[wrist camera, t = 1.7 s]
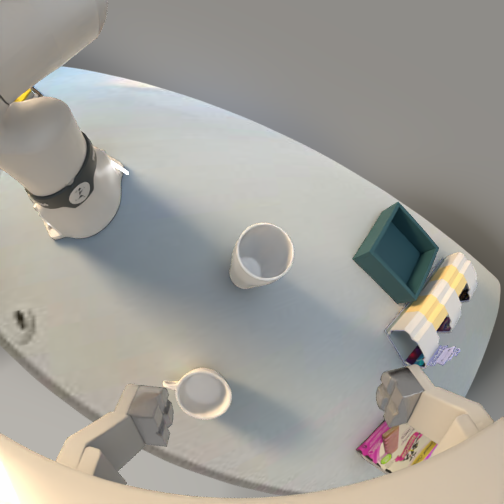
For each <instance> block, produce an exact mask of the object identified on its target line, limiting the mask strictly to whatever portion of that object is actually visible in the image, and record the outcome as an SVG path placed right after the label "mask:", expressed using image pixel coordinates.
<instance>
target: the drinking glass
mask: <svg viewBox="0 0 504 504" xmlns="http://www.w3.org/2000/svg"><path fill="white" fill-rule="evenodd" d="M293 261H294V246H293V243H292V240H291V238H290V237H289V235H288V234H287V233H286V232H285V231H284V230H283V229H281V228H280V227H278V226H276V225H274V224H270V223H257V224H254V225H252V226H250V227H248V228H247V229H245V230H244V231H243V233H242V234H241V235H240V237H239V238H238V240H237V242H236V244H235V246H234V249H233V252H232V259H231V266H230V271H229V274H230V278H231V280H232V282H233V283H234V284H235V285H236V286H237V287H239V288H242V289H251V288H254V287H258V286H264V285H268V284H270V283H273V282H275V281H276V280H278V279H279V278H281V277H282V276H283V275H285V274H286V273H287V272H288V271H289V269H290V268H291V266H292V264H293Z"/></svg>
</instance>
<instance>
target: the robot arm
mask: <svg viewBox="0 0 504 504" xmlns="http://www.w3.org/2000/svg"><path fill="white" fill-rule="evenodd" d="M106 15H107V0H0V169H1V170H3V171H5V172H6V173H8V174H9V175H10V176H12V177H13V178H14V179H15V180H17V181H18V182H19V183H20V184H22V185H23V186H24V187H25V190H26V192H27V193H28V196H29V198H30V200H31V201H32V202H33V203H35V202H36V204H35V205H34V208H35V210H36V211H37V212H39V216H40V217H41V218H42V219H43V220H44V223H45V225H46V228H47V230H48V233H49V235H50V237H51V238H52V239H54V240H57V239H61V238H64V237H72V238H86V237H90V236H92V235H94V234H96V233H98V232H100V231H101V230H102V229H104V228H105V227H106V226H107V225H108V224H109V223H110V221H111V220H112V219H113V217H114V216H115V214H116V212H117V210H118V207H119V204H120V200H121V178H122V175H123V172H124V173H125V174H127V175H128V174H129V173H128V171H127V170H125V169H124V166H123V165H122V163H120V162H119V161H117V160H115V159H113V158H112V157H110V156H108V155H107V153H106V152H105V151H104V150H100V149H99V148H97V147H95V146H93V145H92V143H91V141H90V140H89V138H87V136H86V135H85V134H84V133H83V132H82V131H81V130H80V128H79V126H78V124H77V122H76V120H75V118H74V116H73V114H72V112H71V110H70V108H69V107H68V105H67V104H66V103H64V102H63V101H61V100H59V99H56V98H52V97H43V95H42V94H41V93H40V92H38V91H37V90H36V89H34V88H33V87H32V86H34V85H35V84H36V83H38V82H39V81H40V80H42V79H43V78H45V77H46V76H47V75H49V74H50V73H52V72H53V71H55V70H56V69H58V68H59V67H61V66H62V65H64V64H65V63H66V62H67V61H68V60H70V59H71V58H72V57H73V56H75V55H76V54H77V53H79V52H80V51H81V50H82V49H83V48H85V47H86V46H87V45H89V44H90V43H91V42H92V41H94V40H95V39H96V38H97V37H98V36H99V34H100V32H101V30H102V28H103V25H104V23H105V19H106ZM28 89H31V90H32V91H34V92H35V93H36V94H38V95H39V97H37V98H33V99H29V100H26V101H21V102H14V101H15V100H16V99H17V98H18V97H20V96H21V95H22V94H23V93H25V92H26V91H27V90H28ZM52 228H53V229H52ZM380 380H381V382H382V384H381V385H380V386H379V387H378V388H377V392H376V401H377V405H378V407H379V409H381V410H383V411H384V415H383V417H384V419H385V421H386V423H387V425H388V427H389V428H390V427H394V426H398V425H401V424H405V423H407V424H408V425H410V426H411V427H413V428H414V429H415V430H417V431H418V432H420V433H421V434H423V435H424V436H426V437H427V438H429V439H430V440H432V441H433V442H435V443H436V444H438V445H437V446H436V448H435V449H434V450H433V452H432V453H431V457H430V458H428V459H426V460H424V461H421V462H419V463H416V464H414V465H411V466H409V467H406V468H403V469H401V470H398V471H395V472H392V473H389V474H386V475H383V476H380V477H377V478H373V479H370V480H366V481H363V482H359V483H355V484H351V485H347V486H343V487H338V488H333V489H328V490H323V491H317V492H311V493H304V494H296V495H288V496H277V497H262V498H213V497H198V496H187V495H179V494H171V493H164V492H158V491H152V490H147V489H142V488H137V487H133V486H128V485H126V484H127V482H126V481H125V480H124V479H123V477H122V476H121V475H120V474H119V473H118V471H119V470H120V469H121V468H122V467H123V466H124V465H125V464H126V463H127V462H129V461H130V460H131V459H132V458H133V457H134V456H135V455H136V454H137V453H138V452H139V451H140V450H141V449H143V448H144V447H145V446H146V445H145V444H148V445H156V446H166V447H167V444H168V440H169V436H170V432H169V430H168V428H169V427H170V426H171V425H172V423H173V414H174V412H173V406H172V403H171V402H170V401H169V400H168V396H169V394H168V391H167V389H166V388H162V387H153V386H144V385H135V384H128V385H126V387H125V389H124V391H123V393H122V395H121V397H120V400H119V402H118V404H117V406H116V408H115V410H114V412H109V413H108V414H106V415H104V416H103V417H101V418H100V419H98V420H96V421H95V422H93V423H92V424H90V425H88V426H87V427H85V428H83V429H82V430H80V431H78V432H77V433H75V434H73V435H72V436H70V437H68V438H67V439H66V441H65V443H64V445H63V447H62V449H61V451H60V453H59V455H58V457H57V459H56V461H53V460H51V459H49V458H46V457H44V456H42V455H40V454H38V453H36V452H34V451H32V450H30V449H28V448H26V447H24V446H22V445H20V444H18V443H17V442H15V441H13V440H11V439H10V438H8V437H6V436H5V435H3V434H1V433H0V504H504V416H503V417H501V418H500V419H499V420H497V421H495V422H494V421H493V419H492V418H491V417H490V416H489V414H488V413H487V412H486V410H485V409H484V408H483V407H482V405H481V404H479V403H477V402H474V401H472V400H469V399H467V398H464V397H462V396H460V395H457V394H455V393H452V392H450V391H448V390H445V389H443V388H441V387H435V386H434V385H433V383H432V382H431V381H430V380H429V378H428V377H427V376H426V374H425V373H424V372H423V370H422V369H421V368H420V367H419V365H417V364H413V365H410V366H406V367H402V368H398V369H394V370H390V371H386V372H384V373H383V374H382V376H381V379H380Z"/></svg>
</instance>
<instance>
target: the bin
mask: <svg viewBox="0 0 504 504" xmlns="http://www.w3.org/2000/svg"><path fill="white" fill-rule="evenodd" d="M438 249H439V247H438V246H437V245H436V244H435V243H434V241H433V240H432V239H431V238H430V237H429V235H428V234H427V233H426V232H425V231H424V230H423V228H422V227H421V226H420V225H419V224H418V223H417V222H416V220H415V219H414V218H413V217H412V216H411V215H410V214H409V213H408V212H407V211H406V209H405V208H404V207H403V206H402V205H400V203H399V202H397V203H395V204H393V205H392V206H390V207H389V208H387V209H386V210H384V211H383V212H382V213H381V214H380V216H379V218H378V219H377V221H376V223H375V224H374V226H373V228H372V229H371V231H370V232H369V234H368V236H367V237H366V239H365V240H364V242H363V244H362V245H361V247H360V248H359V250H358V251H357V253H356V254H355V256H354V257H353V260H354V261H355V262H356V263H357V264H358V265H359V266H360V267H361V268H362V269H363V270H364V271H365V272H366V273H367V274H368V275H369V276H371V277H372V278H373V279H374V280H375V281H376V282H377V283H378V284H379V285H380V286H381V287H382V288H383V290H384V291H385V292H386V293H387V294H388V295H389V296H390V297H391V298H392V299H393V300H394V301H395V302H396V303H397V304H399V303H406V302H412V301H416V300H417V298H418V296H419V294H420V292H421V290H422V287H423V285H424V283H425V281H426V279H427V276H428V274H429V272H430V269H431V267H432V264H433V262H434V259H435V257H436V254H437V252H438Z"/></svg>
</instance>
